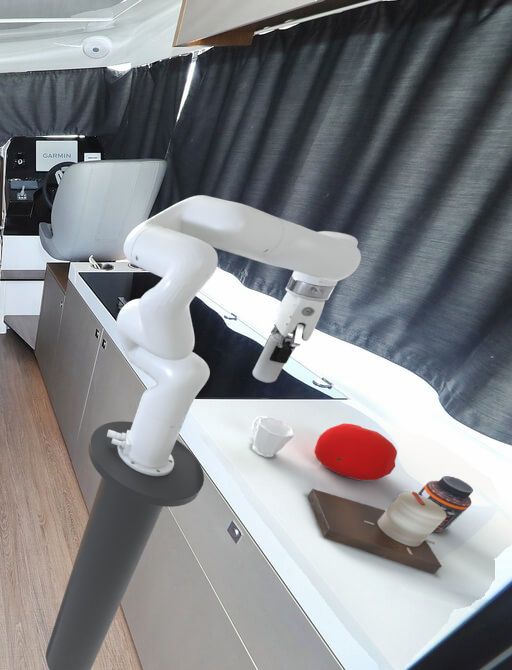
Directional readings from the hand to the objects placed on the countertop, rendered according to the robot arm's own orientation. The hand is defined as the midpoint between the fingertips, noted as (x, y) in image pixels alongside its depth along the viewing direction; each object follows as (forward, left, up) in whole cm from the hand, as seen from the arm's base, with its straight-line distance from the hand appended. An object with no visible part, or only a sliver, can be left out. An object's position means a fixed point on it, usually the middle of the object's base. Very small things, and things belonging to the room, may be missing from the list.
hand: (274, 355), depth 102 cm
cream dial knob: (+21, -26, -20) cm, 39 cm away
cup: (+3, -8, -22) cm, 24 cm away
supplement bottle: (+30, -17, -22) cm, 41 cm away
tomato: (+20, -7, -22) cm, 31 cm away
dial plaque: (+18, -26, -22) cm, 39 cm away
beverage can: (0, 0, -7) cm, 7 cm away
